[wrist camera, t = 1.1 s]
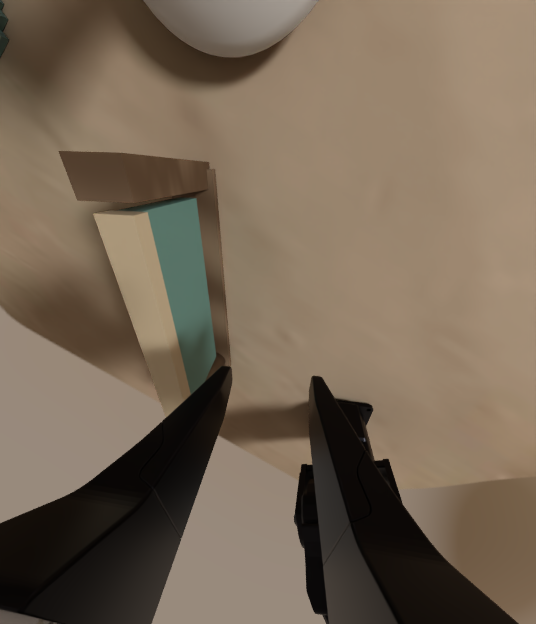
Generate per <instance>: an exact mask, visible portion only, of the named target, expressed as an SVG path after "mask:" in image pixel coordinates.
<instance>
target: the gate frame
mask: <svg viewBox="0 0 536 624" xmlns="http://www.w3.org/2000/svg"><path fill="white" fill-rule="evenodd" d="M59 154H60V156H61V159H62V161H63V164H64V167H65V169H66V172H67V175H68V177H69V180H70V182H71V185H72V188H73V190H74V193H75V196H76V198H77V200H80V201H100V202H121V203H137V202H143V201H148V200H153V199H159V198H164V197H170V196H172V199H174V198H179V197H183V198H196V200H197V208H198V216H199V224H200V232H201V239H202V247H203V255H204V263H205V271H206V279H207V287H208V295H209V303H210V310H211V318H212V326H213V334H214V342H215V350H216V358H215V360H214V362H213V365H212V367H211V369H210V371H209V373H208V376H207V378H206V380H207V379H208V378H209V377H210V376H211V375H212V374H214V373H215V372H216V371H217V370H218V369H219V368H220V367H221V366H231V358H230V345H229V333H228V321H227V309H226V297H225V284H224V272H223V260H222V248H221V236H220V224H219V211H218V199H217V187H216V175H215V169H209V162H201V161H192V160H182V159H173V158H164V157H154V156H145V155H136V154H127V153H108V152H71V151H59ZM206 380H205V381H206Z"/></svg>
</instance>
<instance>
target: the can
mask: <svg viewBox="0 0 536 624" xmlns="http://www.w3.org/2000/svg"><path fill="white" fill-rule="evenodd" d="M3 6H4V3H3V2H2V1H1V0H0V57H1V55H2V53H3V51H4V49H5V47H6V45H7V43H8V41H9V39H8V38H7V37H6V35H5V34H4V33H3V32H2V31H3V29H4V27H5V25H6V23H7V21H8V19H7V17H6V16H5V15H4V13H3V12H2V11H1V10H2V8H3Z"/></svg>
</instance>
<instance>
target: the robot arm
mask: <svg viewBox="0 0 536 624" xmlns="http://www.w3.org/2000/svg"><path fill="white" fill-rule="evenodd" d="M231 386H232V369H231V367H230V366H221V367H220V368H219V369H218V370H217V371H216V372H215V373H214V374H212V375H211V376H210V377H209V378H208V379H207V380H206V381H205V382H204V383H203V384H202V385H201V386H200V387H198V388H197V389H196V390H195V391H194V392H193V393H192V394H191V395H190V396H189V397H188V398H187V399H186V400H185V401H183V402H182V403H181V404H180V405H179V406H178V407H177V408H176V409H175V410H174V411H173V412H172V413H171V414H170V415H168V416H167V417H166V418H165V419H164V420H163V421H162V422H161V423H160V424H159V425H158V426H157V427H156V428H154V429H153V430H152V431H151V432H150V433H149V434H148V435H147V436H146V437H144V438H143V439H142V440H141V441H140V442H139V443H137V444H136V445H135V446H134V447H133V448H131V449H130V450H129V451H128V452H126V453H125V454H124V455H122V456H121V457H120V458H119V459H117V460H116V461H115V462H114V463H112V464H111V465H110V466H109V467H107V468H106V469H105V470H103V471H102V472H101V473H100V474H99V475H97V476H96V477H95V478H93V479H92V480H91V481H89V482H88V483H87V484H85V485H84V486H82V487H81V488H79V489H77V490H76V491H74V492H72V493H70V494H68V495H66V496H64V497H62V498H60V499H57V500H55V501H53V502H50V503H48V504H45V505H43V506H41V507H38V508H36V509H33V510H31V511H29V512H26V513H24V514H21V515H19V516H17V517H14V518H12V519H10V520H7V521H5V522H2V523H0V624H151V623H152V620H153V618H154V615H155V612H156V609H157V606H158V604H159V601H160V598H161V595H162V592H163V589H164V586H165V584H166V581H167V578H168V575H169V572H170V570H171V567H172V564H173V561H174V558H175V555H176V552H177V550H178V547H179V544H180V541H181V539H180V538H182V535H183V532H184V529H185V527H186V524H187V521H188V518H189V515H190V513H191V510H192V507H193V504H194V501H195V498H196V496H197V493H198V490H199V487H200V484H201V481H202V478H203V475H204V473H205V470H206V467H207V464H208V461H209V459H210V456H211V453H212V450H213V447H214V444H215V442H216V439H217V436H218V433H219V430H220V427H221V425H222V422H223V419H224V415H225V411H226V407H227V403H228V399H229V394H230V390H231ZM372 412H373V408H372V405H369V404H362V403H354V402H345V401H337V400H335V398H334V396H333V395H332V393H331V391H330V390H329V388H328V386H327V385H326V383H325V382H324V380H323V378H322V377H320V376H312V378H311V383H310V389H309V435H310V445H311V454H312V464H313V465H307V464H302V465H301V472H300V476H299V484H298V492H297V501H296V509H295V515H294V522H295V524H296V526H297V529H298V535H299V539H300V542H301V545H302V547H303V548H304V549H305V563H306V589H307V594H308V597H309V599H310V602H311V605H312V608H313V610H314V612H315V614H321V615H323V617H324V619H325V622H326V624H518V623H517V622H516V621H515V620H514V619H513V618H512V617H510V616H509V615H508V614H507V613H506V612H505V611H503V610H502V609H501V608H500V607H499V606H498V605H497V604H496V603H494V602H493V601H492V600H491V599H490V598H489V597H488V596H486V595H485V594H484V593H483V592H482V591H481V590H479V589H478V588H477V587H476V586H475V585H474V584H473V583H471V582H470V581H469V580H468V579H467V578H466V577H465V576H463V575H462V574H461V573H460V572H459V571H458V570H457V569H455V568H454V567H453V566H452V565H451V564H450V563H449V562H448V561H447V560H446V559H445V558H444V557H443V556H442V555H441V554H440V553H439V552H438V551H437V549H436V548H435V547H434V546H433V545H432V543H431V542H430V541H429V540H428V538H427V537H426V536H425V534H424V533H423V532H422V530H421V529H420V527H419V526H418V525H417V523H416V522H415V521H414V519H413V518H412V517H411V515H410V514H409V513H408V511H407V510H406V508H405V507H404V506H403V504H402V501H401V497H400V494H399V491H398V488H397V485H396V481H395V478H394V475H393V472H392V469H391V466H390V462H389V459H383V460H379V461H375V460H374V456H373V452H372V449H371V445H370V441H369V437H368V433H367V429H366V425H367V423H368V421H369V418H370V416H371V414H372Z"/></svg>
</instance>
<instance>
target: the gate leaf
mask: <svg viewBox="0 0 536 624" xmlns="http://www.w3.org/2000/svg"><path fill="white" fill-rule="evenodd" d="M93 215H94V218H95V221H96V223H97V226H98V229H99V232H100V235H101V237H102V240H103V243H104V246H105V249H106V251H107V254H108V257H109V260H110V263H111V265H112V268H113V271H114V274H115V277H116V279H117V282H118V285H119V288H120V290H121V293H122V296H123V299H124V302H125V304H126V307H127V310H128V313H129V316H130V318H131V321H132V324H133V327H134V330H135V332H136V335H137V338H138V341H139V344H140V346H141V349H142V352H143V355H144V358H145V360H146V363H147V366H148V369H149V372H150V374H151V377H152V380H153V383H154V386H155V388H156V391H157V394H158V397H159V400H160V402H161V405H162V408H163V411H164V413H165V416H166V417H167V416H168V415H170V414H171V413H172V412H173V411H174V410H175V409H176V408H177V407H178V406H179V405H180V404H181V403H182V402H183V401H185V400H186V399H187V398H188V397H189V396H190V395H191V394H192V393H193V392H194V391H195V390H196V389H197V388H198V387H200V386H201V385H202V384H203V383H204V382H205V380H206V378H207V376H208V373H209V371H210V369H211V367H212V365H213V362H214V360H215V358H216V350H215V342H214V334H213V326H212V318H211V310H210V303H209V295H208V287H207V279H206V271H205V263H204V255H203V247H202V239H201V232H200V224H199V216H198V208H197V200H196V198H183V197H179V198H174V199H169V200H164V201H159V202H155V203H150V204H145V205H140V206H135V207H130V208H126V209H121V210H108V211H103V212H98V213H93Z"/></svg>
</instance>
